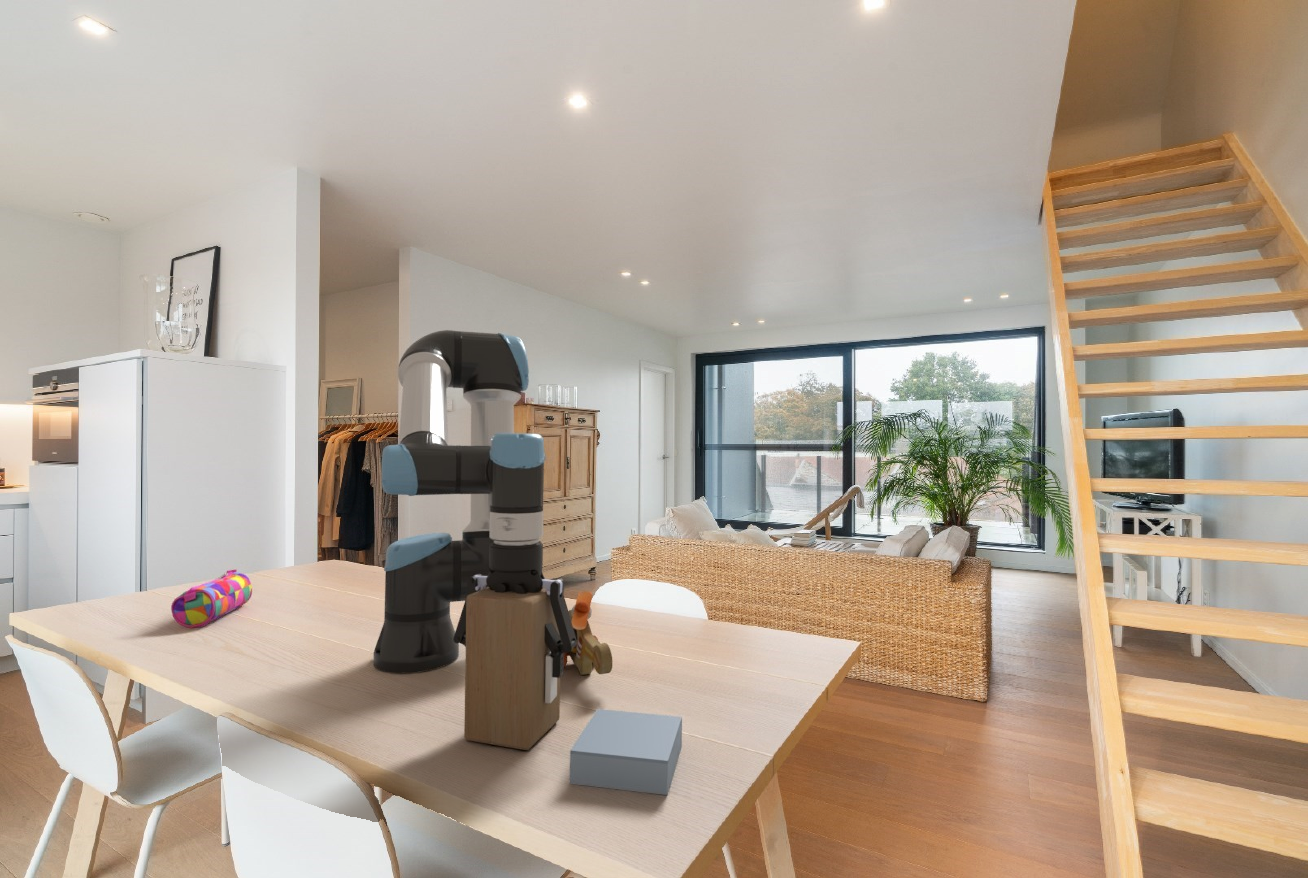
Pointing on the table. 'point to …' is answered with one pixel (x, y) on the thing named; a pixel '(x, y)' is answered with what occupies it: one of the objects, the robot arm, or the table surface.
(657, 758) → the base brick
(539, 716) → the wooden block
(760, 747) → the table surface
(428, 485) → the robot arm
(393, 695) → the table surface
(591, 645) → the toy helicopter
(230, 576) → the pencil case
